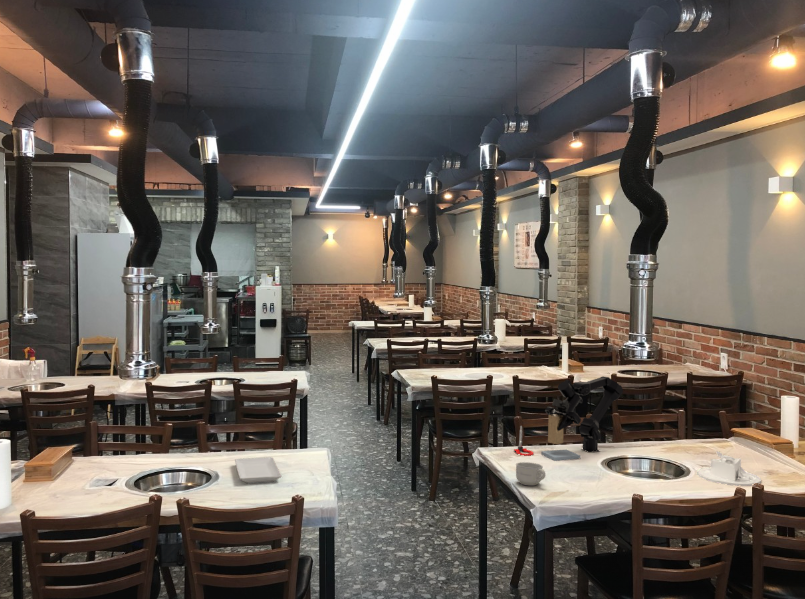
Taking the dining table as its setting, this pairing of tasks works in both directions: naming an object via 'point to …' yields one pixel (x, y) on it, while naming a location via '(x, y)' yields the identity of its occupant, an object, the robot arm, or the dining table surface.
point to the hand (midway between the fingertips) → (553, 429)
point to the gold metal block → (555, 429)
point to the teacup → (529, 473)
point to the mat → (560, 454)
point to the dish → (728, 472)
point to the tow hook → (522, 447)
